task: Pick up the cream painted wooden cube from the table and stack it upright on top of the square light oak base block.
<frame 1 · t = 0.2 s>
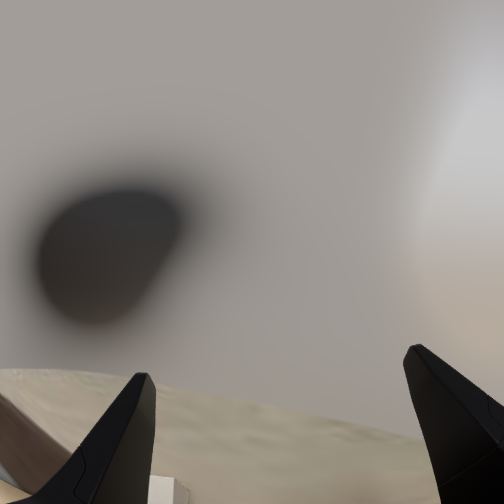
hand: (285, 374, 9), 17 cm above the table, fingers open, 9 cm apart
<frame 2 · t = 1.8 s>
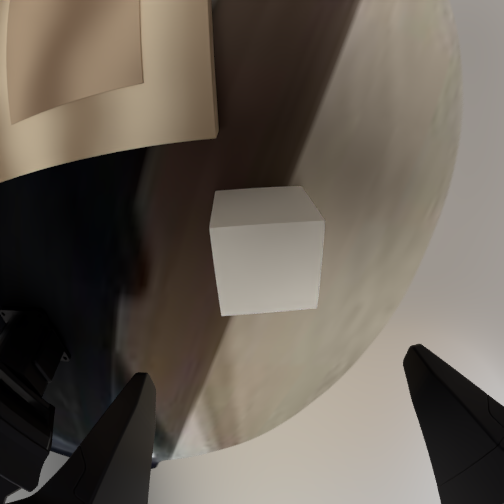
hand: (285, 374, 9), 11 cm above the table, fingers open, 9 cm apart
oak base: (90, 37, 11), on the table
cream cube: (260, 226, 18), on the table
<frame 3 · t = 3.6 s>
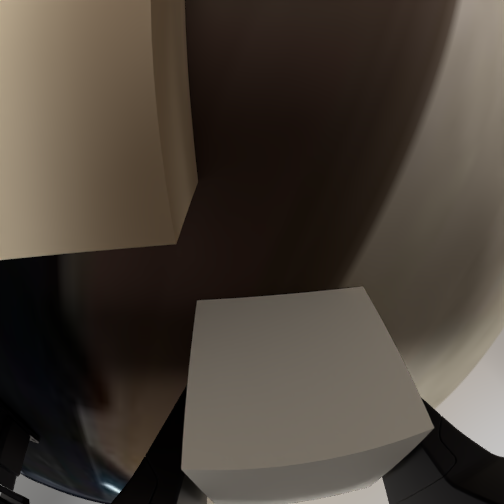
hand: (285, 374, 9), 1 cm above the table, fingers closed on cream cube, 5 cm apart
cream cube: (281, 350, 10), on the table, touching gripper
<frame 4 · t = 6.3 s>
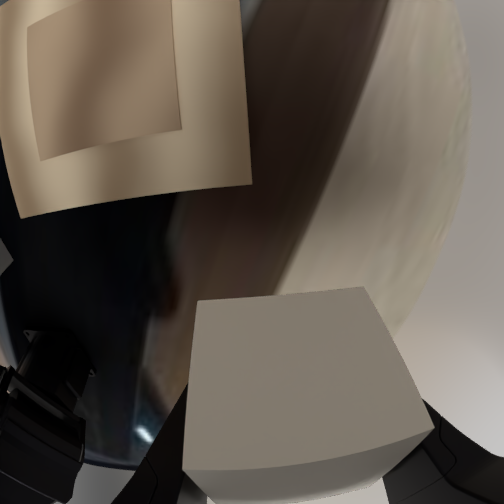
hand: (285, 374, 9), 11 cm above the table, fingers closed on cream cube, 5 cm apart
oak base: (115, 69, 13), on the table
cream cube: (282, 350, 10), point 10 cm above the table, touching gripper
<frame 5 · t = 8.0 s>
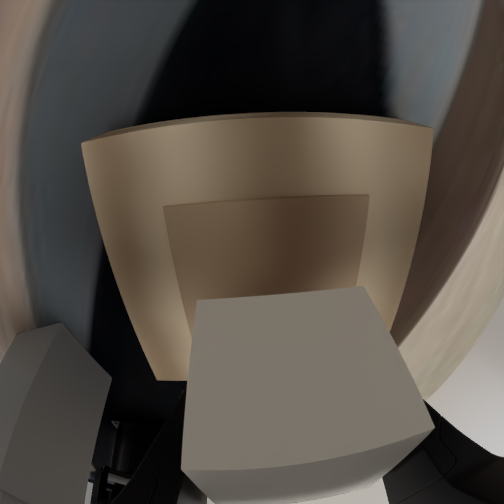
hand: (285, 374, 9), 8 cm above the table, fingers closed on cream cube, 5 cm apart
perfume bottle: (62, 355, 20), on the table
oak base: (264, 249, 16), on the table
cream cube: (281, 349, 10), point 7 cm above the table, touching gripper
when the fingers open (5 cm above the table, at t = 9.3 s): cream cube drops 1 cm, resting on oak base.
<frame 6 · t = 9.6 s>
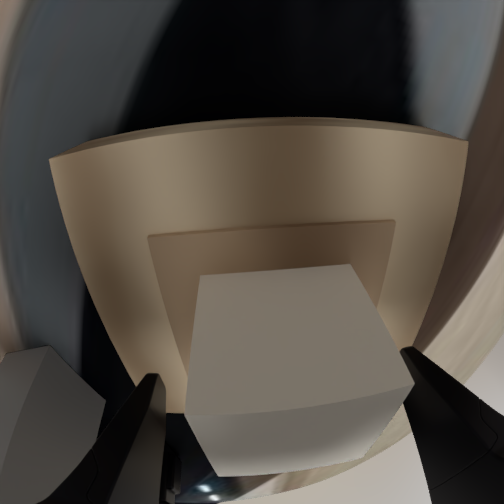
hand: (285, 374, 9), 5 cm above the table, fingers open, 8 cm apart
perfume bottle: (53, 376, 18), on the table
oak base: (268, 276, 14), on the table
cream cube: (277, 325, 11), point 3 cm above the table, touching oak base
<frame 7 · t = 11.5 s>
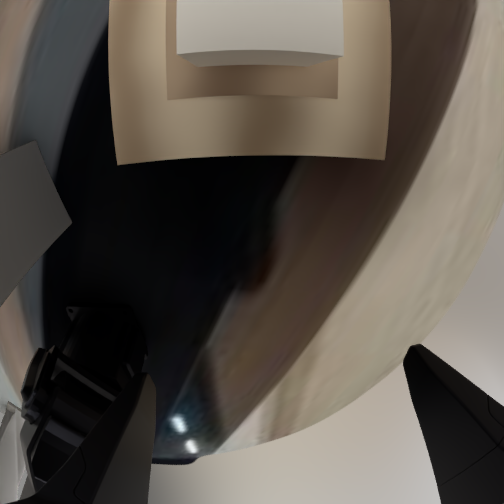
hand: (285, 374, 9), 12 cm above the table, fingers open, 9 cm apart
perfume bottle: (26, 197, 17), on the table
oak base: (250, 30, 13), on the table
skyscraper: (24, 414, 37), on the table
cream cube: (252, 17, 10), point 3 cm above the table, touching oak base
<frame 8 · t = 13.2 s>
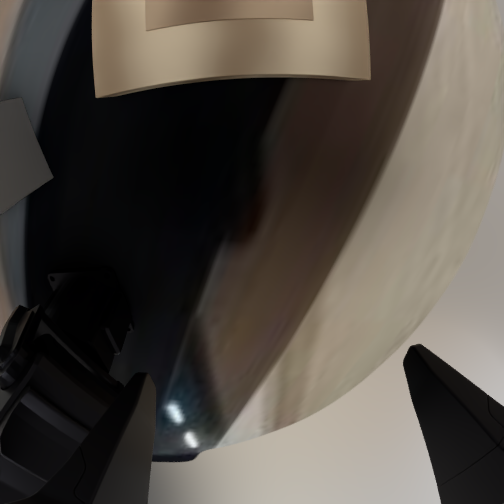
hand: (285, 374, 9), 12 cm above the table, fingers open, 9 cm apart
perfume bottle: (10, 158, 15), on the table
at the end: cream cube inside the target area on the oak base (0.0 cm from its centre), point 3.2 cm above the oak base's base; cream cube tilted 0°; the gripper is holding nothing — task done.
